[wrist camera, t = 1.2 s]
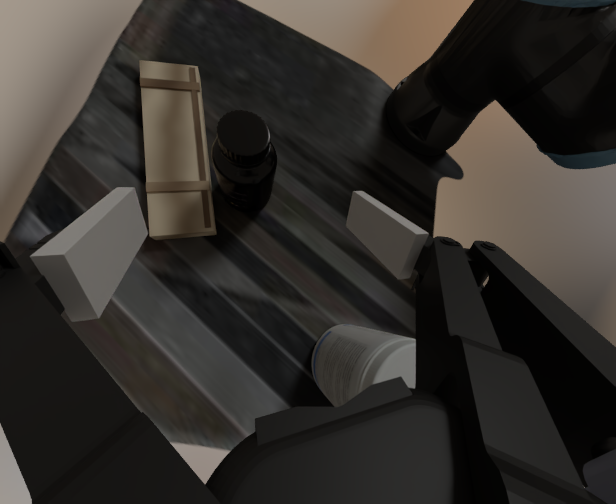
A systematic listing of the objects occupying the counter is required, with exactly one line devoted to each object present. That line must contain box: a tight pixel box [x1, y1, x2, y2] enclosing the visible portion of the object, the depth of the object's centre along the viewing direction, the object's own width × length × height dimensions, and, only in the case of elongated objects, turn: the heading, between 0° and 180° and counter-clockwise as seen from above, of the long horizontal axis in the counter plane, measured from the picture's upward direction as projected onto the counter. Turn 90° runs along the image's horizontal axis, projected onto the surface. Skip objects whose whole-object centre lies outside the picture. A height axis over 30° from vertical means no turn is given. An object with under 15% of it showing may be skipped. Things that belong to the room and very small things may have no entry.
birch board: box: [139, 60, 216, 240], centre depth 29 cm, size 7×24×2 cm, turn 10°
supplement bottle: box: [211, 110, 277, 212], centre depth 26 cm, size 7×7×12 cm
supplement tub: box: [312, 324, 416, 407], centre depth 24 cm, size 10×10×15 cm
